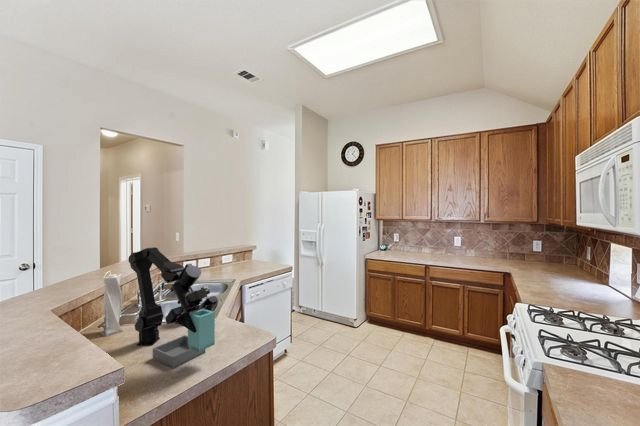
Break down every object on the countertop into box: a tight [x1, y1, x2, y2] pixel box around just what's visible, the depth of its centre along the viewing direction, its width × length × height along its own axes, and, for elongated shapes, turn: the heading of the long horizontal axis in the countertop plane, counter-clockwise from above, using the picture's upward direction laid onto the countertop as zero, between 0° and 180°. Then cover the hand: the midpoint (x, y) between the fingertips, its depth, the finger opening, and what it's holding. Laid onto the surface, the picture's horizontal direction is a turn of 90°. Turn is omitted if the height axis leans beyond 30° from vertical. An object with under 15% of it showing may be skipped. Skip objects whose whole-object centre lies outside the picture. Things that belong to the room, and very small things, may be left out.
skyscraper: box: [98, 270, 124, 337], centre depth 129 cm, size 8×8×28 cm
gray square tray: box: [152, 334, 206, 369], centre depth 107 cm, size 13×13×4 cm
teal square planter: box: [187, 309, 216, 352], centre depth 100 cm, size 6×6×12 cm
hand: (203, 328), depth 100 cm, fingers closed on teal square planter, 6 cm apart
